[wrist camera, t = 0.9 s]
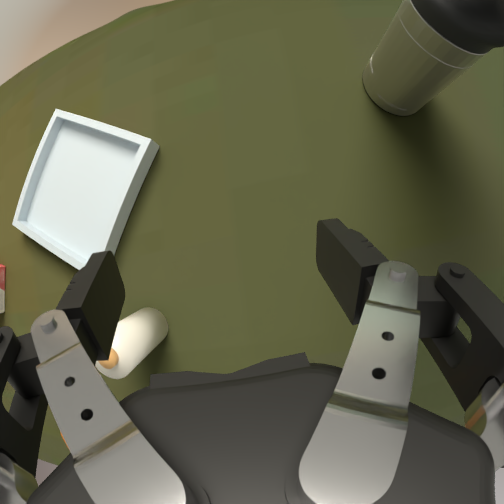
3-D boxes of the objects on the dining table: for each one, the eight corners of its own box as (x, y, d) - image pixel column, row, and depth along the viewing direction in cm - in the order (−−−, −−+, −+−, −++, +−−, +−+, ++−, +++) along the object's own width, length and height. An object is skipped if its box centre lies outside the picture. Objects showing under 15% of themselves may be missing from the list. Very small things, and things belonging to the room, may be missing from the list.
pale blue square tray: (67, 115, 35) (56, 108, 32) (159, 146, 34) (151, 139, 31) (24, 224, 36) (12, 224, 33) (106, 276, 36) (95, 279, 33)
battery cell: (140, 300, 36) (91, 325, 24) (173, 317, 35) (134, 351, 24) (129, 332, 36) (81, 365, 24) (161, 349, 36) (121, 390, 24)
